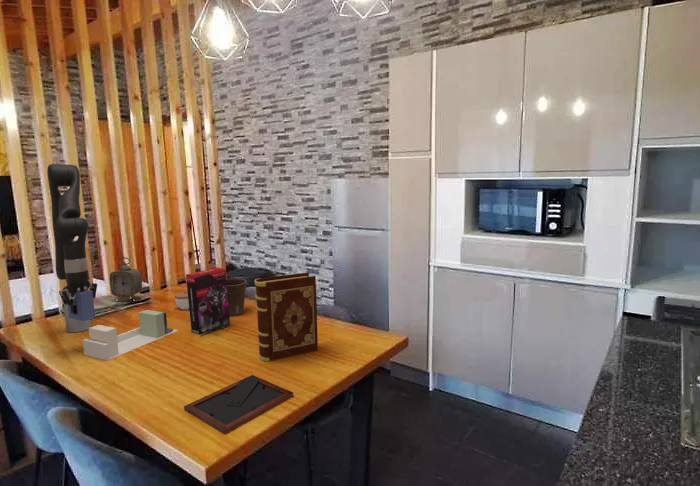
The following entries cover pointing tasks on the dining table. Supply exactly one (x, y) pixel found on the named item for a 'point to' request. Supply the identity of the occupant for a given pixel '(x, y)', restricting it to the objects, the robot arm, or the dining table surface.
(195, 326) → the graphics card box
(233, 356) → the dining table surface
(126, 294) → the tabletop clock
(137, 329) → the shelf board
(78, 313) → the navy book
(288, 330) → the decorative book
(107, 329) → the ivory book
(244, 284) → the plant pot
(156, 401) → the dining table surface
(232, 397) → the picture frame
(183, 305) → the lidded jar
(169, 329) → the bookend
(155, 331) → the sage book
